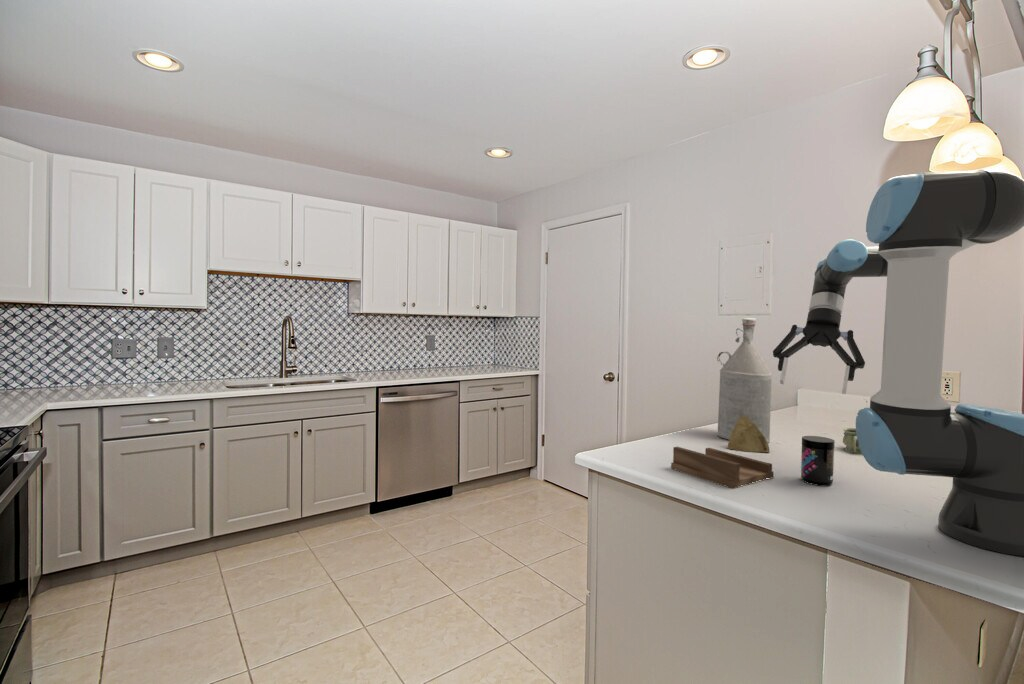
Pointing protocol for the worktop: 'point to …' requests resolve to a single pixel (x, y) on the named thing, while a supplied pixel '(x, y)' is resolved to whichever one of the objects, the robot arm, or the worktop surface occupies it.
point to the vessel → (851, 441)
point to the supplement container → (817, 460)
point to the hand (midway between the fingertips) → (812, 387)
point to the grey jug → (744, 386)
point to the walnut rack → (721, 466)
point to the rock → (747, 437)
